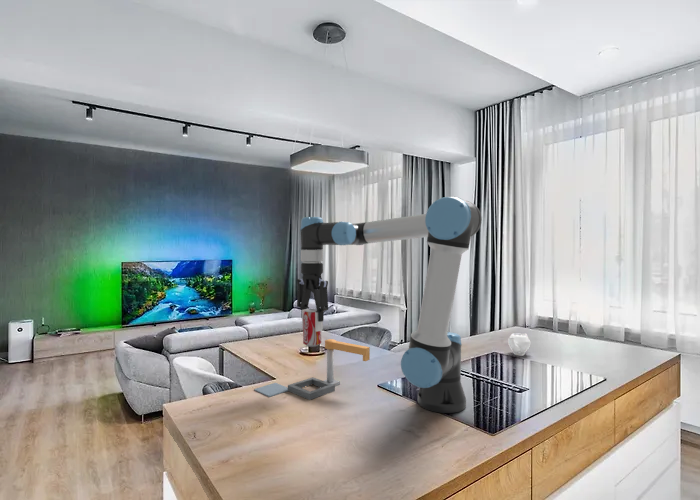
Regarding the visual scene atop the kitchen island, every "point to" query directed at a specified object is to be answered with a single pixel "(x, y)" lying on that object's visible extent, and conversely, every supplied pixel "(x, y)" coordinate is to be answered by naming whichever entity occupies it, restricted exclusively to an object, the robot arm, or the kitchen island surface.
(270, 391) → the rubber mat
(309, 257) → the robot arm
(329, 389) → the square ring with handle
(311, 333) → the beverage can
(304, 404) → the kitchen island surface
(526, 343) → the white rounded lump
